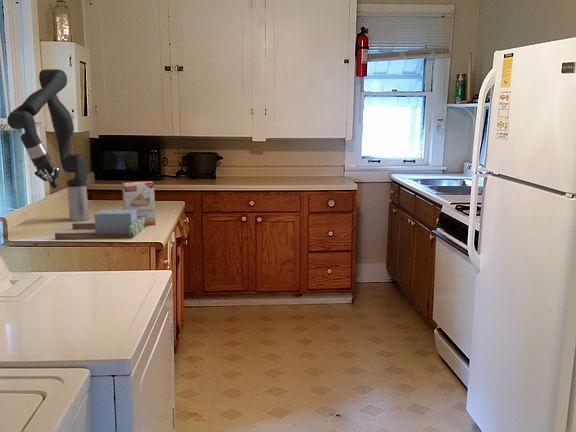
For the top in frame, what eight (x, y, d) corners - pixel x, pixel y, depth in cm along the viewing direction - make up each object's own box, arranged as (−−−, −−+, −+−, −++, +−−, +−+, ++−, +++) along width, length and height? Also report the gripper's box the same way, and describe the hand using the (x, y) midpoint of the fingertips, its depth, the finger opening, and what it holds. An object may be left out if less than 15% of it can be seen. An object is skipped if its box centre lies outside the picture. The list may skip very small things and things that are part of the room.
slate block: (102, 231, 256) (101, 209, 255) (137, 230, 257) (136, 209, 255) (95, 236, 247) (94, 213, 245) (132, 235, 247) (130, 213, 245)
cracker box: (126, 227, 263) (124, 183, 259) (124, 225, 268) (121, 182, 264) (156, 224, 269) (154, 181, 265) (153, 222, 274) (150, 180, 270)
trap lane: (73, 228, 262) (72, 218, 261) (144, 227, 263) (144, 217, 262) (55, 239, 240) (54, 228, 239) (133, 238, 241) (132, 226, 240)
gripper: (55, 148, 248) (71, 182, 257) (31, 152, 252) (48, 185, 261) (45, 156, 242) (63, 190, 250) (21, 159, 246) (39, 193, 255)
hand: (55, 187), depth 256 cm, fingers closed
